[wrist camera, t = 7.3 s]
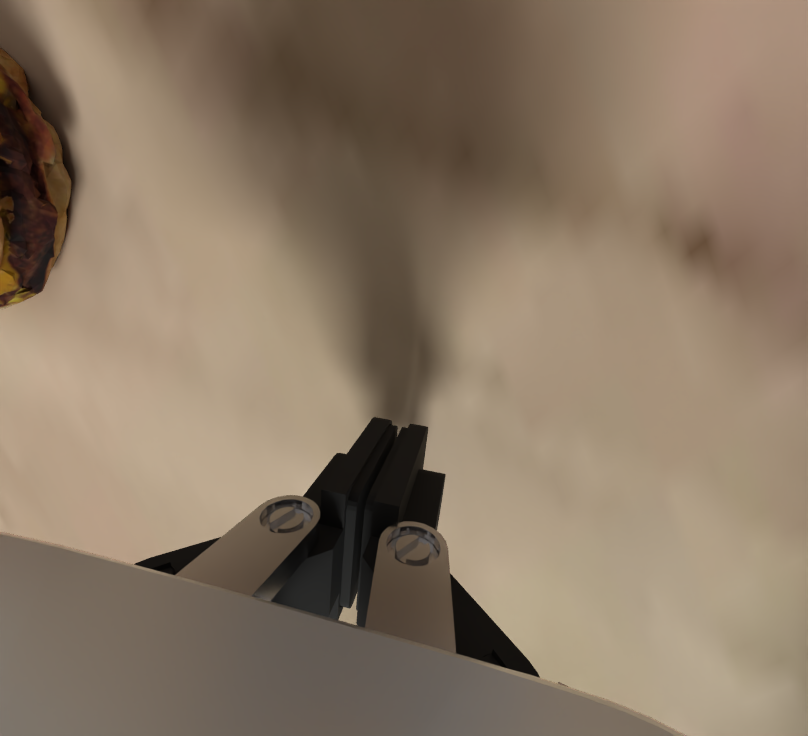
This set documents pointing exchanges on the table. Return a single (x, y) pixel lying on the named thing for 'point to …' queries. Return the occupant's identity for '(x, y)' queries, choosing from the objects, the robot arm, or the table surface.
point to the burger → (28, 190)
